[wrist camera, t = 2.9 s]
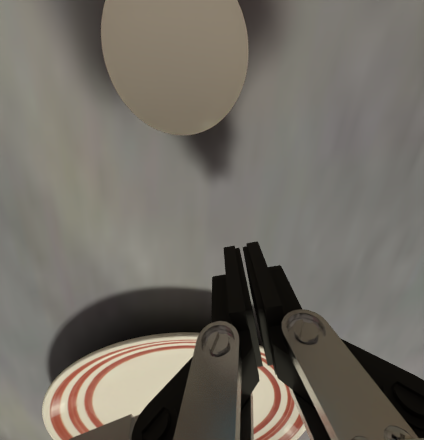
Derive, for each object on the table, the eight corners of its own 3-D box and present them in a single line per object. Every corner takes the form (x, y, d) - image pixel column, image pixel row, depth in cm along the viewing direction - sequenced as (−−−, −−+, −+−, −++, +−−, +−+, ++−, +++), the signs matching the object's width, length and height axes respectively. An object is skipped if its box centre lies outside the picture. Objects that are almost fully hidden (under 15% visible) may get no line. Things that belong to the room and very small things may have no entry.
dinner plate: (354, 371, 23) (376, 407, 20) (213, 465, 32) (214, 501, 29) (136, 254, 17) (120, 281, 14) (29, 413, 25) (4, 452, 22)
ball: (151, 144, 13) (112, 153, 8) (114, 25, 11) (18, -88, 5) (245, 122, 13) (274, 114, 7) (227, -7, 10) (251, -162, 5)
